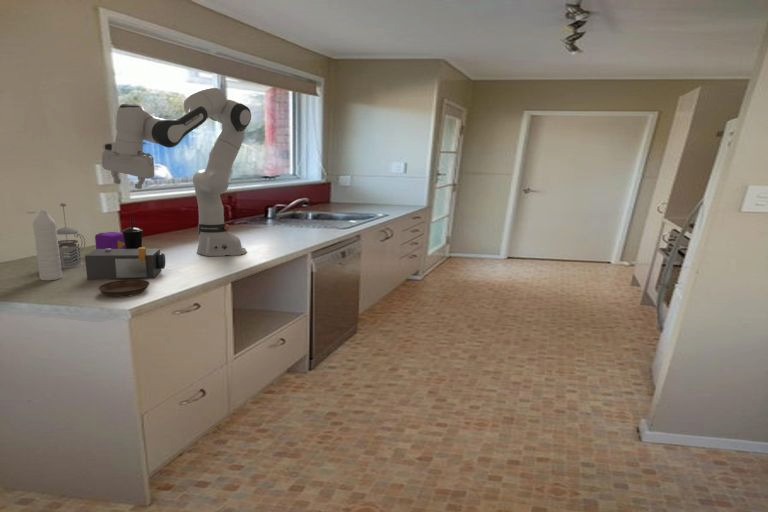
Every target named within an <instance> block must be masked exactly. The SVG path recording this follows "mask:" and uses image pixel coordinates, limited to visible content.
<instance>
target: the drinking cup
mask: <svg viewBox="0 0 768 512" xmlns="http://www.w3.org/2000/svg"><path fill="white" fill-rule="evenodd" d="M129 217H130V226H129V227H127V228H124V229H122V230H121V233H123V236H124V242H125V247H126V249H138V248H143V247H142V246H143V245H142V242H143V231H144V230H143V229H142V228H139V227H134V223H133V215H132V214H130V216H129Z"/></svg>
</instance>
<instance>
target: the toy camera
mask: <svg viewBox="0 0 768 512" xmlns="http://www.w3.org/2000/svg"><path fill="white" fill-rule="evenodd" d="M94 239H95V240H94V241H95V247H96V248H95V250H96V249H107V248H111V249H126V247H125V242H124V236H123V232H118V231H106V232H104V231H100V232H99V233H96V234H95V236H94Z"/></svg>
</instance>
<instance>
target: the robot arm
mask: <svg viewBox="0 0 768 512" xmlns="http://www.w3.org/2000/svg"><path fill="white" fill-rule="evenodd" d="M182 109H183V111H184V114H183V115H181V116H179V117H178V118H176V119H166V118H162V117H161V118H160V117H156V116H155V115H152V114H150V113H149V112H148V111H146V109H144V107H143V106H142V105H140V104H136V103H122V104H120V105H119V106H118V109H117V112H116V118H115V129H116V135H115V141H114V142H113V141H112V142H108V143H103V145H102V149H103V152H102V154H101V166H102V169H103V170H106V171H110V175H111V177H112V179H113V184H117V185H120V184H121V178H120V177H119V173H120V174H123V175H124V174H125V175H130V176H133V177H137V180H138V181H137V183H134V188H135V189H138V190H141V189H142V188H143V184H144V182H145V181H146V179H148V180H149V179H153V178H154V177H155V164H154V163H155V161H154V157H153V155H152V154H151V153H150V152H144V151H143V150H144V149H143V148H144V141H145V142H150V143H152V144H156V145H160V146H162V147H165V148H175V147H177V145H178V144H180V143H181V141H182V140H183V139H184V138H185V136H187V135H188V134H190V133H192V132H193V131H194V130H195V129H197V128H199V126H202V125H203V124H204V123H205V122H206V121H207V120H208V119H211V120H212V121H214V122H217V123H220V124H221V130H220V131H219V132H218V135H217V137H216V139H215V141H214V143H213V146H212V147H211V149H210V151H209V152H208V153H209V154H208V161H207V166H206V168H205V169H204V168H203V169H200V170H198V171H196V172H195V173H194V174H193V177H192V183H193V186H194V192H195V198H196V201H197V207H198V225H197V233H198V244H197V245H198V246H197V249H196V253H197V254H198V255H201V256H202V255H203V256H206V257H226V256H225V255H231V256H242V255H241V254H243V255H245V254H246V253H247V248H246V247H243V245H242V242H241V239H240V238H239V237H238V236H236V235H235V234H234V233H232V232H231V231H229V230H230V229H229V228H230V226H229V225H230V224H228V223H225V215H224V212H225V210H224V208H225V207H224V205H223V202H222V199H221V195H222V194H223V193H225V192H226V191H227V190H228V189H229V184H230V183H229V180H230V175H231V171H232V167H233V165H234V162H235V160H236V158H237V156H238V154H239V151H240V149H241V147H242V144H243V141H244V139H245V134H246V133H245V130H246V129H247V127H248V126H249V124H250V123H251V120H252V113H251V109H250V108H249V107H248V106H246V105H245V104H243V103H241V102H240V103H239V102H237V101H234V100H231V99H227V96H226V94H225V93H224V92H223V91H222V90H221V89H220V88H218V87H214V86H213V87H207V88H204V89H200V90H197V91H195V92H193V93H190V94H189V95H187V96H186V97H185V98H184V99H183V102H182ZM245 252H246V253H245ZM244 253H245V254H244Z"/></svg>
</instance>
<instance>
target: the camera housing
mask: <svg viewBox="0 0 768 512" xmlns="http://www.w3.org/2000/svg"><path fill="white" fill-rule="evenodd" d="M116 258H139V253H138V249H111V248H107V249H96V248H95V250H93V251H91V252H89V253H87V254H85V255H84V260H85V271H86V279H87V281H96V280H97V279H107V280H151V279H152V280H154V279H155V278H156V277H157V276H158V275H159V274H160V273H161V272H162V270H163V269H165V266H166V254H165V253H163V252H162V253H161V248H146V264H147V277H129V278H117V276H116V265H115V259H116ZM95 279H96V280H95Z"/></svg>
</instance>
